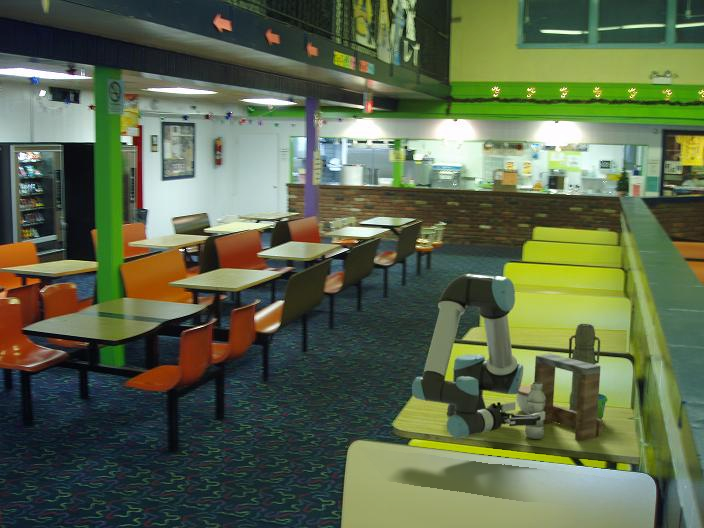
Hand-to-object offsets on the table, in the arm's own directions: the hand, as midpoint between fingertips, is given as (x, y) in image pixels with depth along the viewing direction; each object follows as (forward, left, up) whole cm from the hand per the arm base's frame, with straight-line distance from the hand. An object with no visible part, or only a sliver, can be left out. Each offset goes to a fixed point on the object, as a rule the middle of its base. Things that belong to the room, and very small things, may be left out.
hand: (529, 410), depth 284 cm
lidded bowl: (-31, +19, -11) cm, 38 cm away
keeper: (-8, +20, -11) cm, 24 cm away
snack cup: (-15, +36, -11) cm, 40 cm away
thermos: (-29, +40, -11) cm, 51 cm away
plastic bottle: (-2, +4, -11) cm, 12 cm away
